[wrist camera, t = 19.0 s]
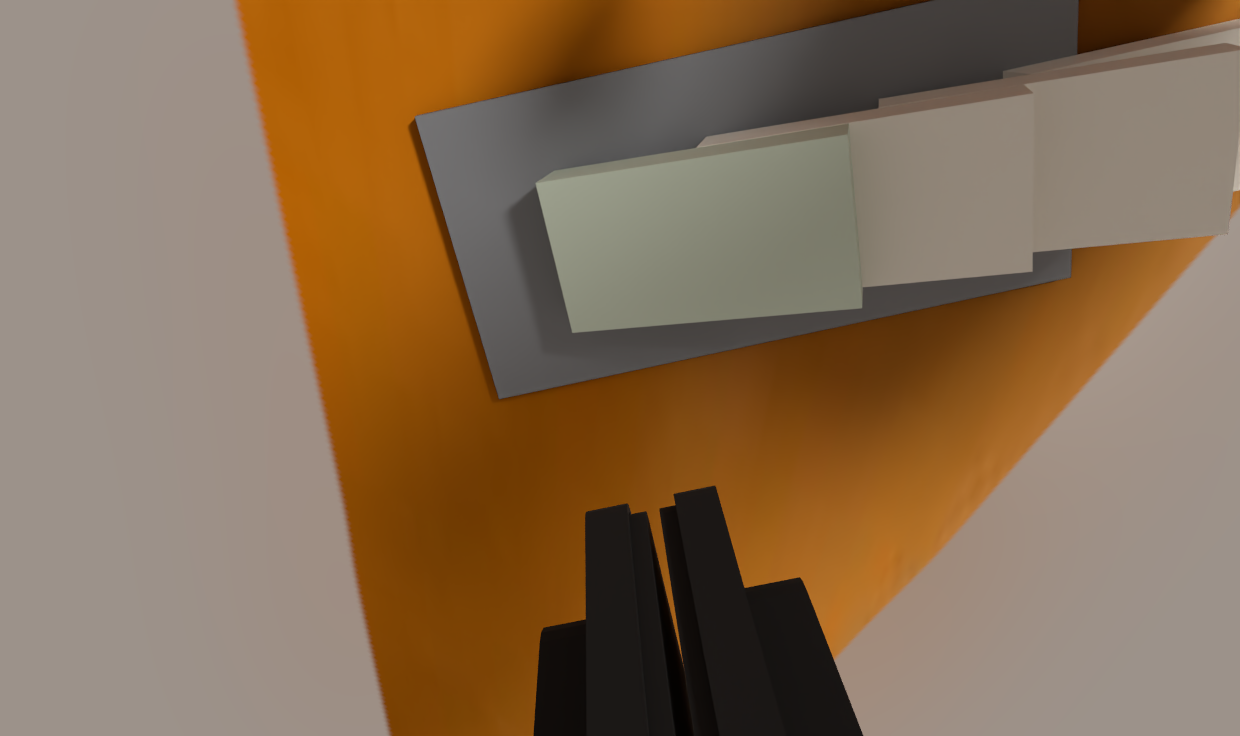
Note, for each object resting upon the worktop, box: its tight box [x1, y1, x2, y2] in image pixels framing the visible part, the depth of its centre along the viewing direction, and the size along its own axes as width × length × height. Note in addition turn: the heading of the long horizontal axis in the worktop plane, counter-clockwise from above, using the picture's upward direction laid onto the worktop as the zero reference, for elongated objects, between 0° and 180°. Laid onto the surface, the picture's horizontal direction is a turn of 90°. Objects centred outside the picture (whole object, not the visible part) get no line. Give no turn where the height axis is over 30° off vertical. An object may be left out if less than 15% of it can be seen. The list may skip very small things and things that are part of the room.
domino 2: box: [697, 85, 1034, 287], centre depth 29 cm, size 2×6×11 cm
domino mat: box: [415, 0, 1079, 399], centre depth 32 cm, size 25×12×1 cm, turn 102°
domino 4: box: [1003, 19, 1240, 191], centre depth 30 cm, size 2×6×11 cm
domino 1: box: [536, 123, 863, 333], centre depth 29 cm, size 2×6×11 cm
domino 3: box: [878, 43, 1240, 252], centre depth 29 cm, size 2×6×11 cm
